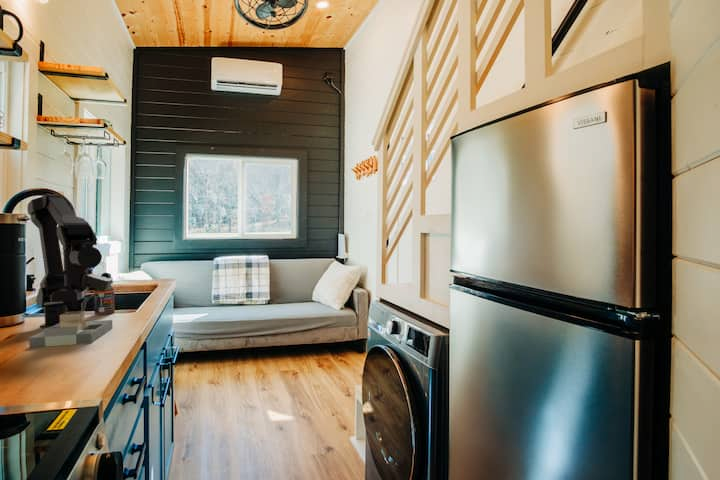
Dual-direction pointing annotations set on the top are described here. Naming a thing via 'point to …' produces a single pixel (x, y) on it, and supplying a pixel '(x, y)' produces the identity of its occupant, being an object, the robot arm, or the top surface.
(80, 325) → the maple block
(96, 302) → the supplement bottle
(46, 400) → the top surface
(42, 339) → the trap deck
